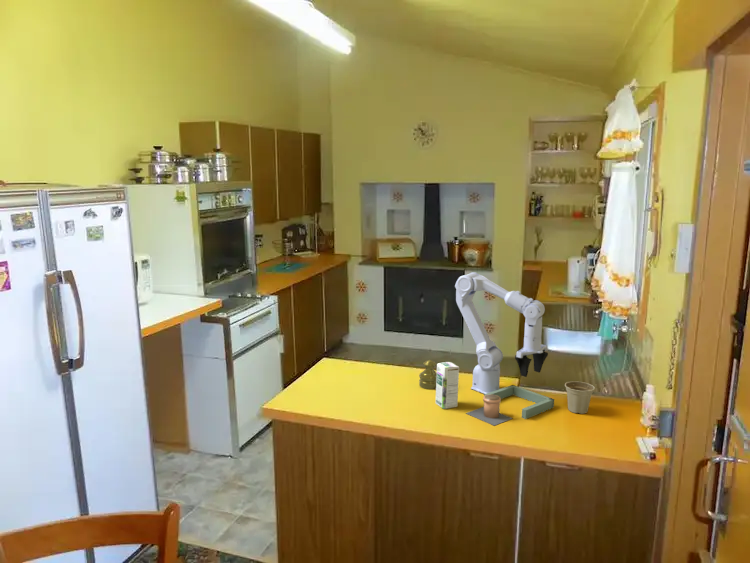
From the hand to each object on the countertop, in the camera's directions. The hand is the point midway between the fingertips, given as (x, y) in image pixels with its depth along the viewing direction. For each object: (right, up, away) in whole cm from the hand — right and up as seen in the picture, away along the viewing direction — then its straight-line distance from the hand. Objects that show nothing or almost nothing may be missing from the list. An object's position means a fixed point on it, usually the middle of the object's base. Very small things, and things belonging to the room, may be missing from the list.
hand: (530, 373), depth 198 cm
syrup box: (-30, -10, -4) cm, 32 cm away
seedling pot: (-16, -12, -12) cm, 24 cm away
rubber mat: (-17, -12, -13) cm, 24 cm away
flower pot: (+14, -11, -8) cm, 19 cm away
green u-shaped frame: (-5, -10, -4) cm, 12 cm away
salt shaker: (-34, -7, +14) cm, 38 cm away
